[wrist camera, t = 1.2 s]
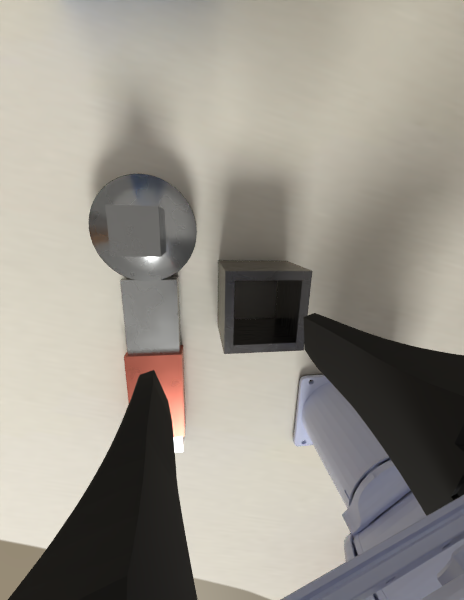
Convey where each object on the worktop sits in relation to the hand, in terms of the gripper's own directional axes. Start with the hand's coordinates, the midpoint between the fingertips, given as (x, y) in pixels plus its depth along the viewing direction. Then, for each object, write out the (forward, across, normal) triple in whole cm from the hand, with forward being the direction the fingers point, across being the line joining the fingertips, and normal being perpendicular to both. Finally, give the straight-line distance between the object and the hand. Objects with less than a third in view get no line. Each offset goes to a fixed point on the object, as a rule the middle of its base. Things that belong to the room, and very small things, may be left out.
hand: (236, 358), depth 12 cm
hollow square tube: (+9, -4, +2) cm, 10 cm away
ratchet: (+10, +4, +4) cm, 12 cm away
